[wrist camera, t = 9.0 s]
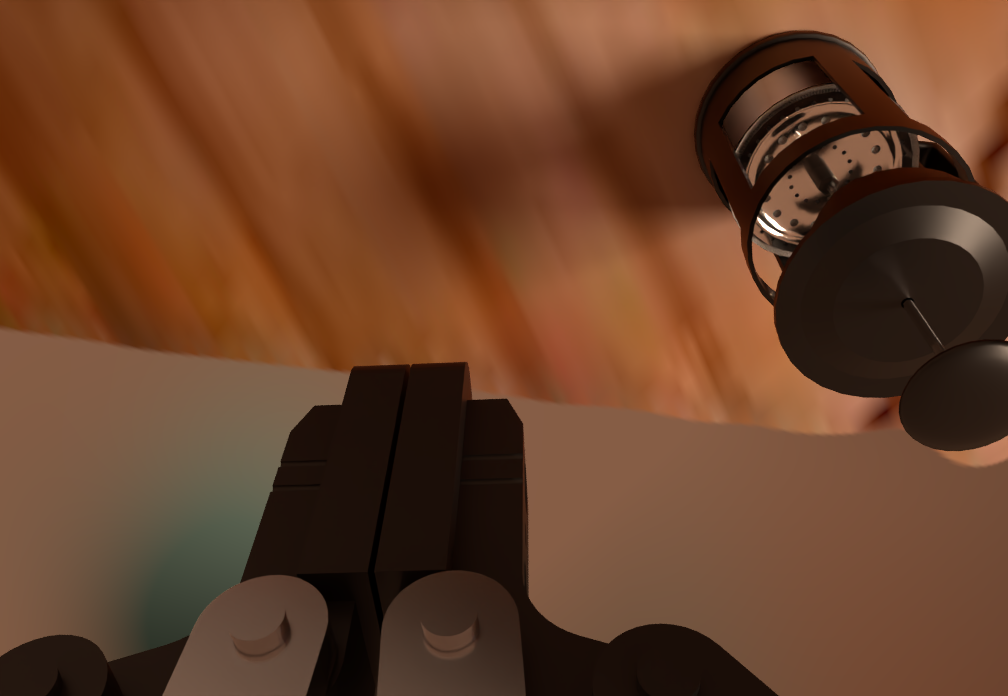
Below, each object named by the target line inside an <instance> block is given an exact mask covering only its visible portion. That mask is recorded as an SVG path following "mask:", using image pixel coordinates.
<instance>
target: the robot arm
mask: <svg viewBox="0 0 1008 696" xmlns="http://www.w3.org/2000/svg"><path fill="white" fill-rule="evenodd" d="M0 696H778V695H777V694H776V693H775V692H773V691H772V690H771V689H770V688H769V687H768V686H766V685H765V684H764V683H763V682H762V681H761V680H759V679H758V678H757V677H756V676H755V675H753V674H752V673H751V672H750V671H749V670H748V669H746V668H745V667H744V666H743V665H742V664H741V663H739V662H738V661H737V660H736V659H735V658H734V657H732V656H731V655H730V654H729V653H728V652H727V651H725V650H724V649H723V648H722V647H721V646H719V645H718V644H717V643H715V642H714V641H713V640H711V639H710V638H708V637H707V636H705V635H703V634H701V633H699V632H697V631H694V630H692V629H689V628H686V627H682V626H677V625H671V624H649V625H644V626H640V627H636V628H633V629H631V630H628V631H626V632H624V633H622V634H621V635H619V636H617V637H616V638H615V639H613V640H612V641H611V642H610V643H609V644H608V643H604V642H601V641H597V640H593V639H589V638H585V637H582V636H579V635H576V634H573V633H570V632H567V631H565V630H563V629H561V628H559V627H557V626H556V625H554V624H553V623H551V622H550V621H548V620H547V619H546V618H545V617H544V616H543V615H541V614H540V613H539V612H538V611H537V609H536V608H535V607H534V605H533V604H532V603H531V601H530V599H529V597H528V497H527V481H526V465H525V449H524V432H523V423H522V421H521V420H520V418H519V417H518V415H517V414H516V412H515V410H514V409H513V407H512V406H511V404H510V403H509V401H508V399H487V400H486V399H485V400H472V392H471V382H470V373H469V367H468V363H467V362H454V363H427V364H412V366H411V367H410V365H409V364H406V365H380V366H354V367H353V368H352V370H351V373H350V377H349V381H348V384H347V388H346V392H345V395H344V399H343V403H342V405H324V406H323V405H321V406H314V407H313V408H312V409H311V410H310V411H309V412H308V413H307V415H306V416H305V417H304V418H303V419H302V420H301V421H300V422H299V423H298V425H296V427H294V429H293V430H292V431H291V432H290V435H289V438H288V441H287V444H286V447H285V450H284V453H283V456H282V459H281V467H279V468H278V471H277V474H276V477H275V480H274V483H273V492H270V495H269V498H268V501H267V504H266V507H265V510H264V513H263V516H262V519H261V522H260V525H259V528H258V531H257V534H256V537H255V540H254V543H253V546H252V549H251V552H250V555H249V558H248V561H247V564H246V567H245V570H244V573H243V576H242V579H241V582H240V584H237V585H235V586H233V587H232V588H230V589H229V590H227V591H225V592H223V593H222V594H221V595H219V596H218V597H217V598H215V599H214V600H213V601H212V602H211V603H210V604H209V605H208V606H207V607H206V608H205V610H204V611H203V612H202V614H201V615H200V616H199V618H198V620H197V622H196V623H195V625H194V627H193V630H192V632H191V634H190V635H189V636H187V637H185V638H182V639H181V640H178V641H176V642H173V643H170V644H167V645H164V646H161V647H157V648H154V649H151V650H147V651H144V652H141V653H138V654H134V655H131V656H127V657H124V658H120V659H117V660H114V661H111V662H107V660H106V658H105V656H104V654H103V652H102V651H101V650H100V648H99V647H98V646H97V645H96V644H94V643H93V642H91V641H90V640H87V639H85V638H83V637H79V636H73V635H55V636H47V637H43V638H40V639H36V640H33V641H30V642H27V643H25V644H22V645H20V646H18V647H16V648H14V649H12V650H10V651H9V652H7V653H5V654H4V655H2V656H1V657H0Z"/></svg>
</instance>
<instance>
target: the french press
mask: <svg viewBox="0 0 1008 696" xmlns="http://www.w3.org/2000/svg"><path fill="white" fill-rule="evenodd" d="M803 61H813V62H815V63H816V64H817V65H818V66H819V67H820V68H821V70H822V71H823V72H824V73H825V74H826V75H827V76H828V78H829V79H830V80H831V81H832V82H833V83H826V84H820V85H816V86H812V87H808V88H806V89H803V90H801V91H798V92H796V93H793V94H791V95H789V96H788V97H786V98H784V99H782V100H781V101H779V102H777V103H776V104H774V105H773V106H772V107H770V108H769V109H768V110H767V111H765V112H764V113H763V114H762V115H761V116H759V117H758V119H757V120H756V121H755V122H754V123H753V124H752V125H751V126H750V127H749V128H748V130H747V131H746V132H745V134H744V135H743V137H742V138H741V140H740V141H739V143H738V145H737V147H736V149H735V150H734V148H733V146H732V144H731V142H730V140H729V138H728V136H727V134H726V132H725V130H724V128H723V121H724V119H725V117H726V116H727V114H728V112H729V110H730V109H731V107H732V106H733V105H734V104H735V102H736V101H737V100H738V99H739V98H740V96H741V95H742V94H743V93H744V92H745V91H746V90H748V89H749V88H750V87H751V86H752V85H754V84H755V83H756V82H757V81H758V80H760V79H762V78H763V77H765V76H767V75H768V74H770V73H772V72H773V71H775V70H778V69H780V68H783V67H785V66H788V65H791V64H793V63H798V62H803ZM917 135H920V136H922V137H925V138H927V139H929V140H931V141H934V142H936V143H934V142H925V141H918V138H917ZM694 137H695V149H696V154H697V157H698V160H699V163H700V166H701V169H702V170H703V172H704V174H705V176H706V177H707V179H708V181H709V182H710V183H711V184H712V185H713V187H714V188H715V190H716V192H717V194H718V195H719V197H720V199H721V201H722V202H723V204H724V205H725V206H726V207H727V208H728V209H729V210H730V211H731V212H732V215H733V217H734V219H735V220H736V222H737V224H738V226H739V227H740V229H741V245H742V250H743V253H744V257H745V260H746V263H747V266H748V268H749V270H750V273H751V275H752V278H753V280H754V281H755V283H756V285H757V287H758V288H759V290H760V292H761V293H762V295H763V296H764V297H765V298H766V299H767V300H768V301H769V302H770V303H771V304H772V305H773V306H774V324H775V327H776V331H777V334H778V338H779V341H780V344H781V346H782V348H783V349H784V351H785V353H786V354H787V356H788V358H789V359H790V361H791V363H792V364H793V365H794V366H795V367H796V368H797V369H798V370H799V371H800V372H801V373H802V374H803V375H804V376H806V377H807V378H809V379H811V380H812V381H814V382H815V383H817V384H819V385H820V386H822V387H825V388H827V389H830V390H833V391H836V392H838V393H841V394H846V395H852V396H858V397H875V398H887V397H894V396H901V395H902V396H901V399H900V402H899V416H900V420H901V423H902V425H903V427H904V429H905V431H906V432H907V433H908V434H909V435H910V436H911V437H912V438H913V439H915V440H916V441H918V442H919V443H921V444H923V445H925V446H928V447H930V448H933V449H938V450H944V451H963V450H971V449H975V448H979V447H983V446H986V445H989V444H991V443H994V442H996V441H999V440H1001V439H1002V438H1004V437H1006V436H1008V341H1005V339H1006V338H1007V337H1008V201H1006V200H1005V199H1004V198H1003V197H1001V196H1000V195H999V194H997V193H996V192H995V191H992V190H990V189H988V188H986V187H983V186H981V185H979V184H978V183H977V182H976V181H975V180H974V178H973V175H972V173H971V170H970V168H969V166H968V165H967V164H966V162H965V161H964V160H963V158H962V157H961V156H960V154H959V153H958V152H957V151H956V150H955V149H954V148H953V147H952V146H951V145H950V144H949V143H948V142H947V141H946V140H945V139H944V138H942V137H941V136H940V135H939V134H937V133H936V132H935V131H933V130H932V129H931V128H930V127H928V126H926V125H924V124H921V123H919V122H917V121H915V120H913V119H910V118H909V117H908V115H907V114H906V113H905V111H904V110H903V109H902V108H901V106H900V105H898V104H897V102H896V100H895V98H894V95H893V93H892V91H891V90H890V88H889V87H888V86H887V85H886V83H885V82H884V81H883V79H882V78H881V77H880V76H879V75H878V73H877V70H876V68H875V67H874V66H873V64H872V63H871V62H870V60H869V59H868V58H867V57H866V55H865V54H864V53H863V52H861V51H860V50H859V49H857V48H856V47H855V46H854V45H852V44H851V43H850V42H848V41H846V40H844V39H841V38H839V37H837V36H835V35H832V34H827V33H823V32H818V31H792V32H787V33H782V34H777V35H774V36H771V37H769V38H766V39H763V40H761V41H758V42H756V43H754V44H753V45H751V46H750V47H748V48H746V49H745V50H743V51H741V52H740V53H738V54H737V55H736V56H735V57H734V58H733V59H732V60H730V61H729V62H728V63H727V64H726V65H725V66H724V67H723V68H722V69H721V71H720V72H719V73H718V74H717V75H716V77H715V78H714V79H713V80H712V82H711V84H710V85H709V87H708V89H707V91H706V93H705V94H704V96H703V98H702V101H701V104H700V107H699V110H698V113H697V116H696V123H695V131H694ZM937 143H938V144H937ZM940 145H941V146H942V147H943V148H944V149H946V151H947V152H948V153H949V154H948V153H947V152H946V151H945V150H944V149H943V148H942V147H941V146H940ZM752 241H753V242H754V243H756V244H757V245H759V246H760V247H762V248H763V249H765V250H767V251H770V252H772V253H774V255H775V257H776V259H777V261H778V263H779V265H780V268H781V270H782V274H781V276H780V278H779V280H778V284H777V289H776V292H775V291H774V290H772V289H771V288H770V287H769V286H768V285H767V284H766V283H765V282H764V281H763V280H762V279H761V278H760V277H759V275H758V273H757V272H756V270H755V267H754V264H753V259H752Z"/></svg>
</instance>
